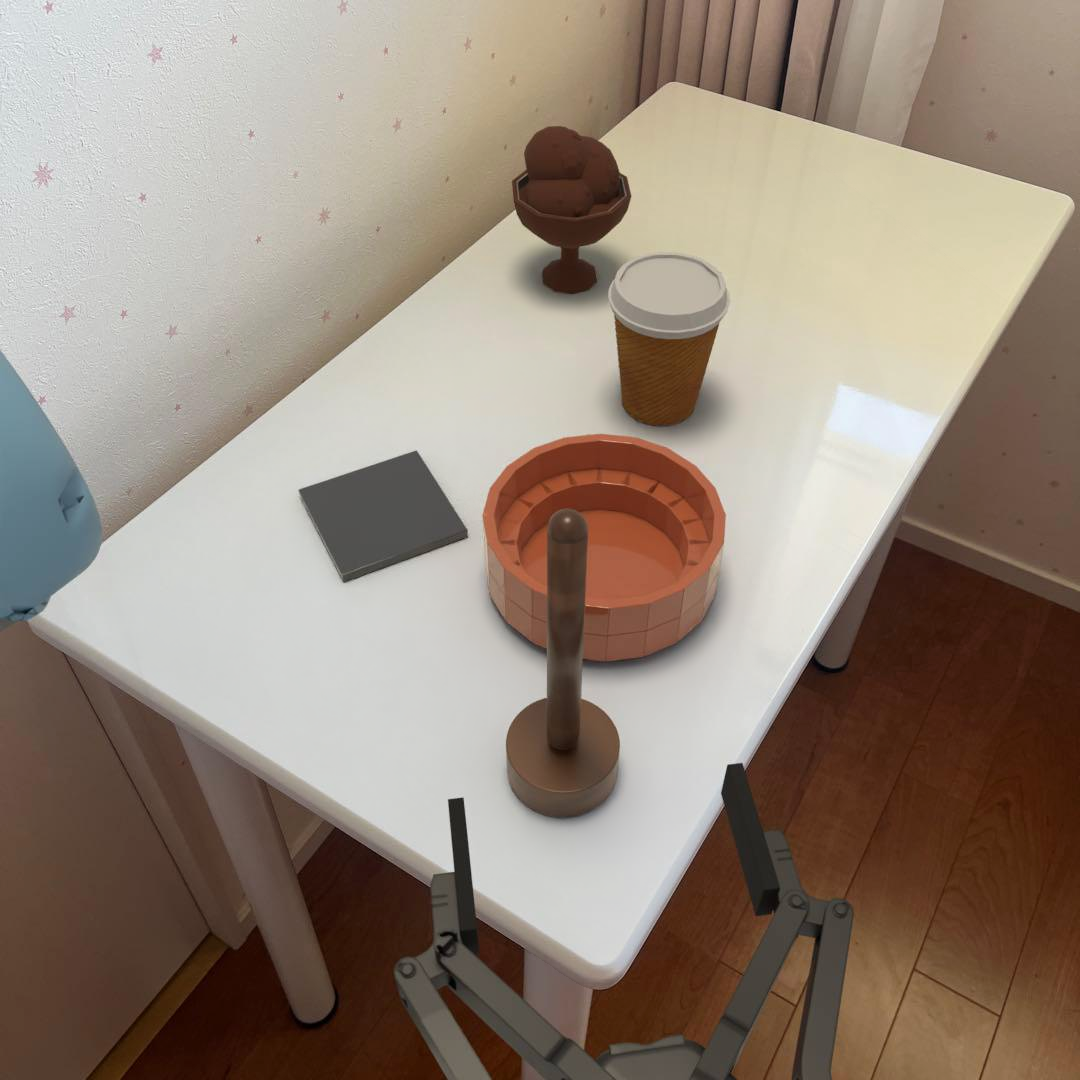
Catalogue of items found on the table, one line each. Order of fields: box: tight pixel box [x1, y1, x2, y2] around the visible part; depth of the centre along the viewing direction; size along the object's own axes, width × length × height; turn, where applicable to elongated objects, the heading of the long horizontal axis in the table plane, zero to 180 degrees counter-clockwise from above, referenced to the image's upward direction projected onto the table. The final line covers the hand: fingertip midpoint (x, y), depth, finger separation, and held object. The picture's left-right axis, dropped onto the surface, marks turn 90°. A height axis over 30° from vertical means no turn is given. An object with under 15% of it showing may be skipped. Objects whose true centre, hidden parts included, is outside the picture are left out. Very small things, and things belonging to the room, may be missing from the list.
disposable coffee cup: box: [607, 251, 731, 427], centre depth 90 cm, size 10×10×12 cm
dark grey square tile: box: [298, 449, 469, 583], centre depth 85 cm, size 10×10×1 cm
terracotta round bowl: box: [482, 433, 727, 662], centre depth 78 cm, size 17×17×6 cm
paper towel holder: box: [505, 509, 621, 818], centre depth 61 cm, size 7×7×23 cm
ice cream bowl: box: [511, 125, 632, 295], centre depth 102 cm, size 11×11×15 cm
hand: (595, 794), depth 54 cm, fingers open, 13 cm apart
